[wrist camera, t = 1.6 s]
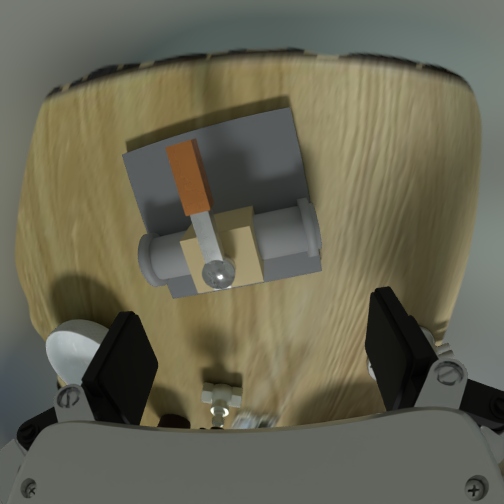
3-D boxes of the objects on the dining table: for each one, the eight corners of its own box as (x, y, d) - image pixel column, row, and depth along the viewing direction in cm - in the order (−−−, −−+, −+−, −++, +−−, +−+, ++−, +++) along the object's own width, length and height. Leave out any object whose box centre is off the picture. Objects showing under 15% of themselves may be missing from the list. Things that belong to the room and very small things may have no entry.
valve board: (288, 107, 31) (297, 102, 23) (320, 265, 39) (333, 305, 31) (127, 153, 34) (88, 165, 25) (175, 292, 42) (156, 334, 33)
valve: (205, 371, 48) (192, 428, 37) (244, 376, 48) (239, 435, 37) (203, 394, 51) (193, 448, 40) (240, 399, 51) (234, 454, 40)
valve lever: (240, 276, 29) (238, 287, 28) (210, 282, 30) (207, 292, 28) (200, 136, 24) (195, 138, 22) (168, 146, 25) (160, 148, 23)
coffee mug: (162, 405, 53) (150, 445, 44) (201, 421, 55) (194, 461, 45) (148, 427, 58) (137, 462, 48) (183, 441, 59) (175, 476, 50)
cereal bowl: (150, 326, 45) (135, 356, 38) (144, 388, 51) (133, 416, 45) (60, 292, 43) (38, 316, 37) (67, 358, 50) (52, 381, 44)
